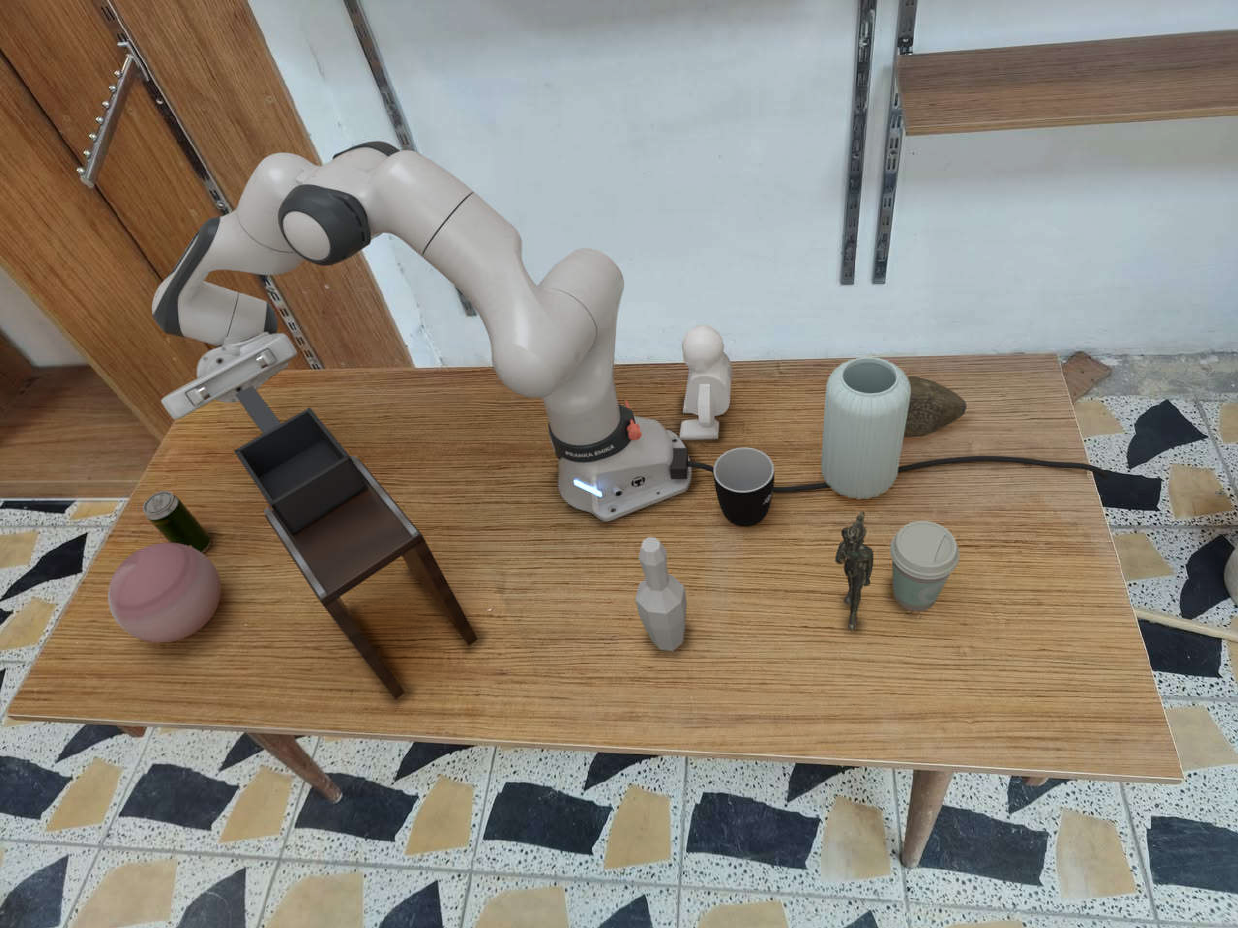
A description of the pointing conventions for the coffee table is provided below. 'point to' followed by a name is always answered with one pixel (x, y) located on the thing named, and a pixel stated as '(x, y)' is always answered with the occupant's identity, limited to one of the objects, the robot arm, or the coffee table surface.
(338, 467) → the basket
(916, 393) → the stone
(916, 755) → the coffee table surface
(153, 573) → the pink rounded ball
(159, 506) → the beer can
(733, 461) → the mug
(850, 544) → the statue
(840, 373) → the vase
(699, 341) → the toy robot
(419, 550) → the stand
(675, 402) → the coffee table surface
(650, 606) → the faceted bottle
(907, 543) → the coffee cup
